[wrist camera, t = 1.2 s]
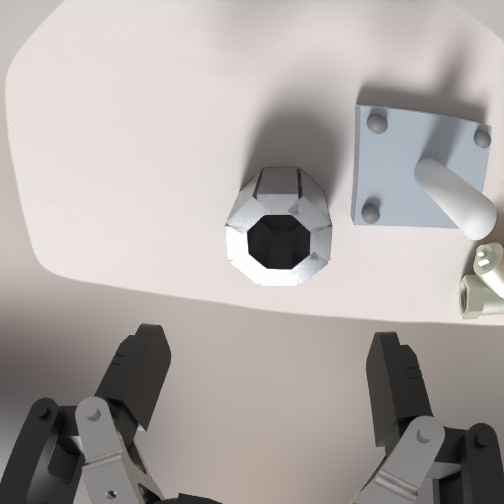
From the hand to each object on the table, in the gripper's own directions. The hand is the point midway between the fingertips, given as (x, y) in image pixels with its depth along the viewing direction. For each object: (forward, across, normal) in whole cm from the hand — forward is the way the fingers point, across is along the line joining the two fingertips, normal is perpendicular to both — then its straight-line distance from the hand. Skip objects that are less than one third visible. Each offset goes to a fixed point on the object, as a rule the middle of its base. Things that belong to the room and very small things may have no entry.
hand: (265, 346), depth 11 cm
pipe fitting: (+12, -20, +4) cm, 24 cm away
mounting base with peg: (+13, -10, -3) cm, 17 cm away
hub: (+13, 0, 0) cm, 13 cm away
